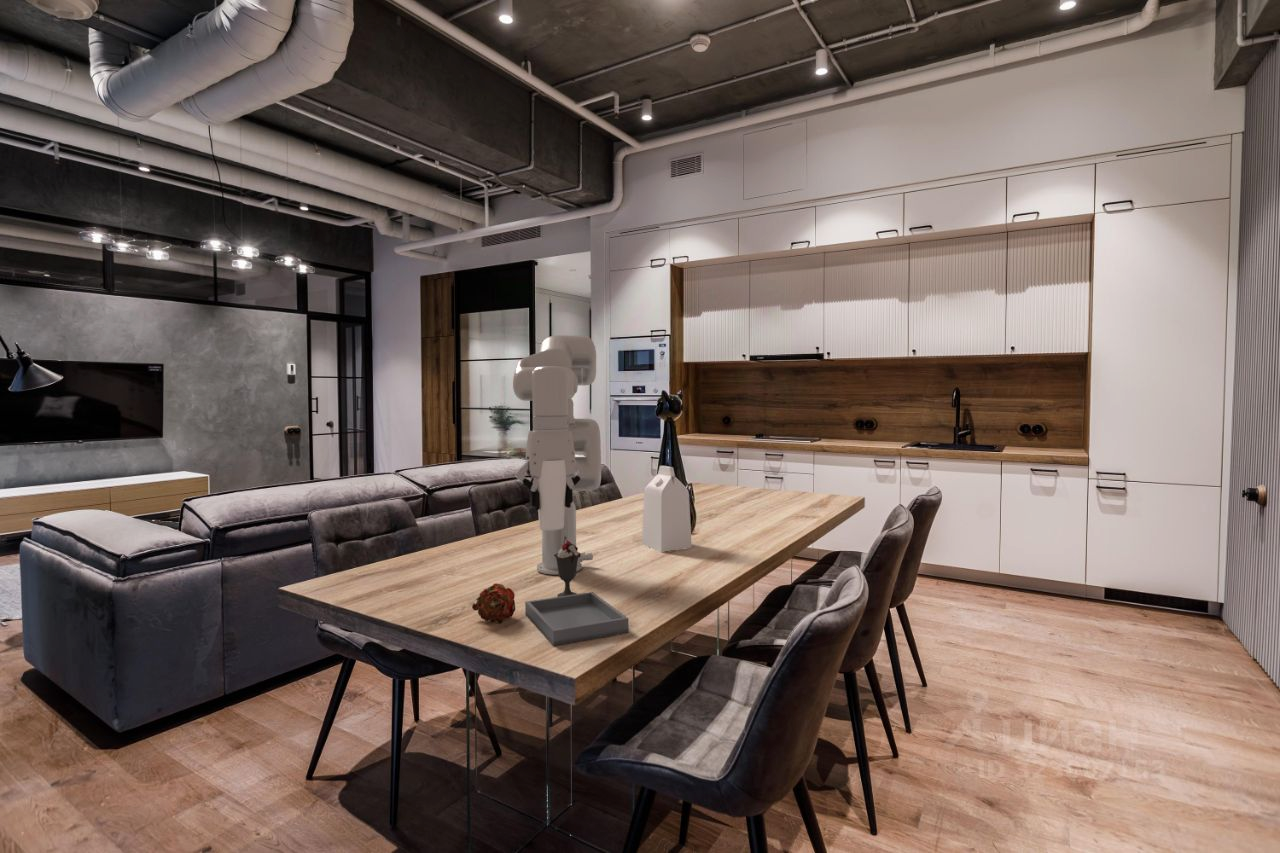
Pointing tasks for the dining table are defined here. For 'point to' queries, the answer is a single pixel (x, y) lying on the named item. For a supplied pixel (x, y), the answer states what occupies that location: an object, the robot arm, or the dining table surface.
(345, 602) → the dining table surface
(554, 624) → the tray
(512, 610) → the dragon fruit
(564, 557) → the sundae
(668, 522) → the milk
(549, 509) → the drinking glass
